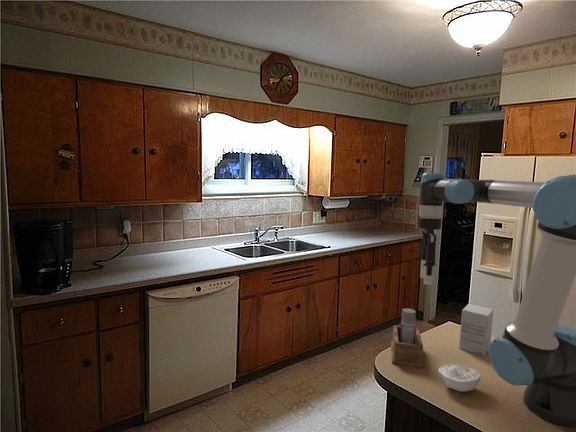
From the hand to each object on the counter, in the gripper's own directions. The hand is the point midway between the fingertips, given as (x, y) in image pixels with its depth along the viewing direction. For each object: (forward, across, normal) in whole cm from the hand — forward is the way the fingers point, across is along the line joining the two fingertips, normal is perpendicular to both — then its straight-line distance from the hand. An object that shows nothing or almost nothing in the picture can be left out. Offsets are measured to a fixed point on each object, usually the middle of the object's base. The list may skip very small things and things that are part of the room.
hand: (425, 280), depth 135 cm
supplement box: (+26, +6, -20) cm, 33 cm away
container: (+25, -5, +6) cm, 26 cm away
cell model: (+26, -23, -7) cm, 36 cm away
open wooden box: (+26, -5, +6) cm, 27 cm away
